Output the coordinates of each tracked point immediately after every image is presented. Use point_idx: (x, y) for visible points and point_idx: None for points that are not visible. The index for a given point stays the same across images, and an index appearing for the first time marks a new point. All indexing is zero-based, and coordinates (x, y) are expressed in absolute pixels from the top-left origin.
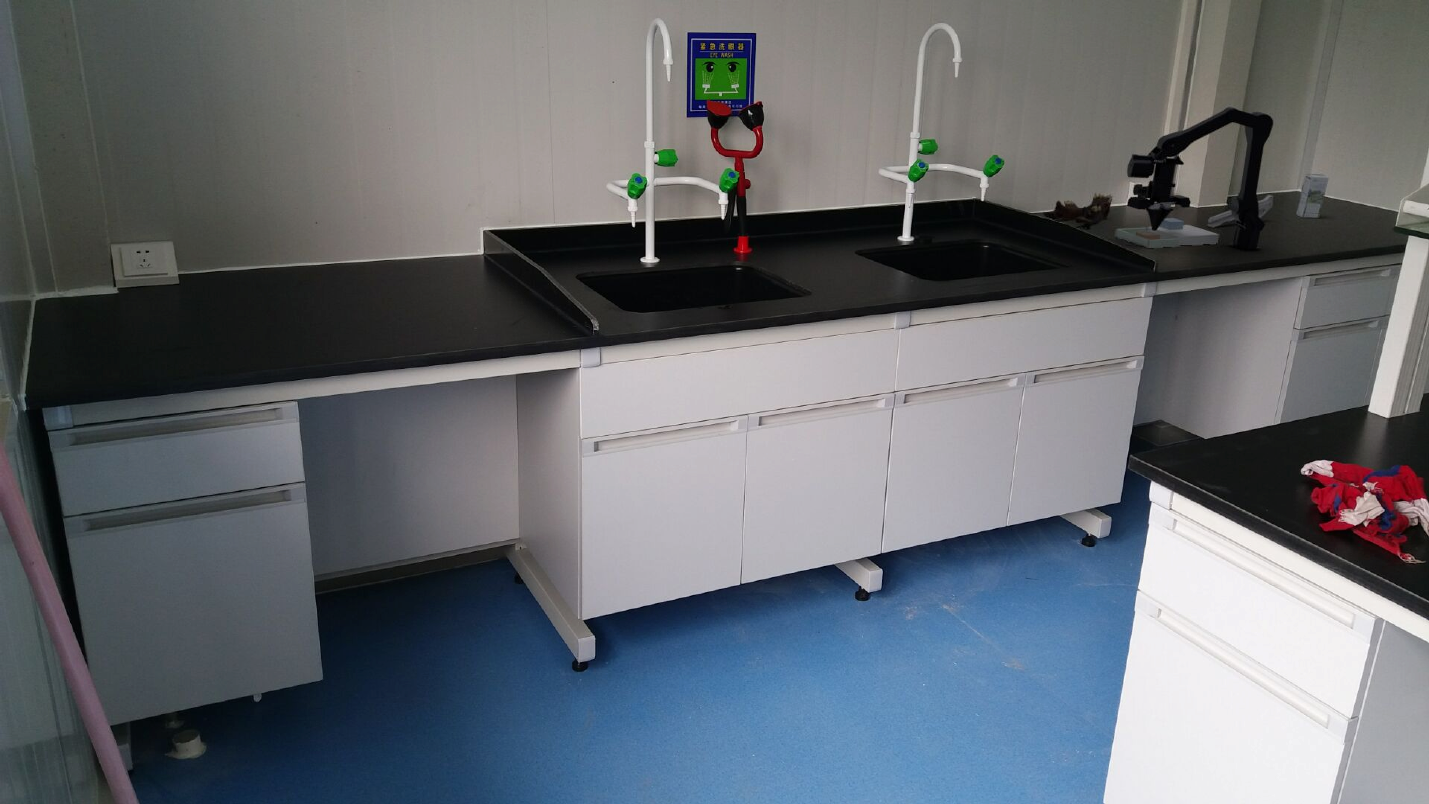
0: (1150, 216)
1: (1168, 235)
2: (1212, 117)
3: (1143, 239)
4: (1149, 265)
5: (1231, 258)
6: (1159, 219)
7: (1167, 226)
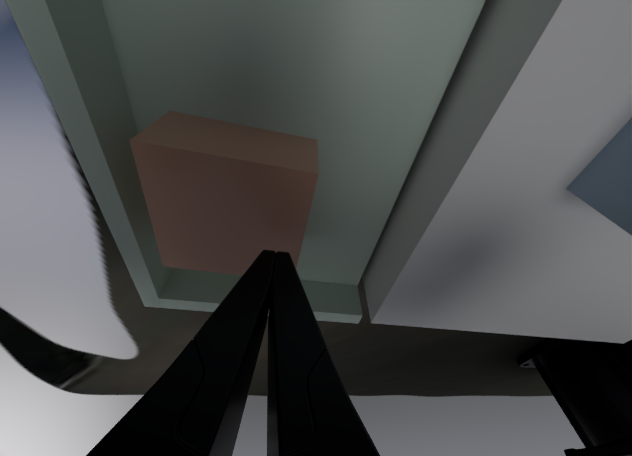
0: (162, 397)
1: (401, 254)
2: None
3: (132, 267)
4: (58, 374)
5: (373, 382)
6: (267, 400)
7: (625, 170)
